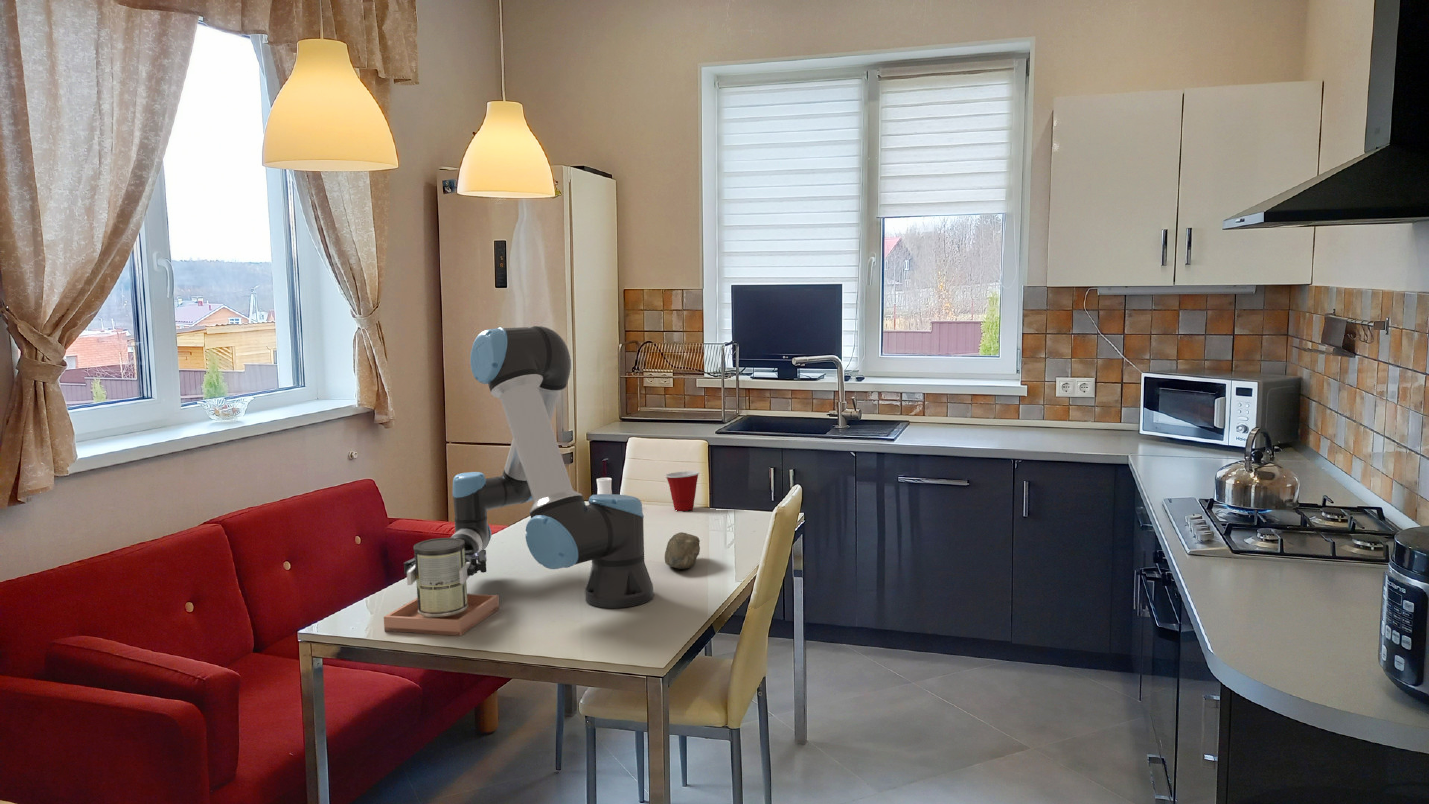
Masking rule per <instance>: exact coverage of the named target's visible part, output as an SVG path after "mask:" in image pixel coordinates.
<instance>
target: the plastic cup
mask: <svg viewBox="0 0 1429 804" xmlns="http://www.w3.org/2000/svg"><path fill="white" fill-rule="evenodd" d="M699 474H700V471H696V470H685V471H684V470H683V471H675V472H670V473H666V474H665V475H664V476H665V478H666V480H667V482H668V485H669V491H670V495H671V500H672V503H673V509H674V511H675V510H677V511H676V512H678V511H688V510H692V511H694V510H693V509H694V506H695V500H696V492H697V483H698V478H699ZM688 512H689V511H688Z"/></svg>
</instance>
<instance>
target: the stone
mask: <svg viewBox="0 0 1429 804" xmlns="http://www.w3.org/2000/svg"><path fill="white" fill-rule="evenodd" d="M700 541H701V540H700V538H699V537H698V536H696V535H695V534H694V535H693V534H690V533H687V532H682V531H681V532H677V533H675V534H674V535H672V537H670V539H669V540H668V542H667V545H666V547H665V552H664V563H665V564H666V565H667V566H668V567H671V568H674V569H678V570H684V569H689V568H691V567H692V566H693V565H694V564H695V563H696V562H697V558H698V556H699V555H700V552H701V551H700V550H701V546H700Z"/></svg>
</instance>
